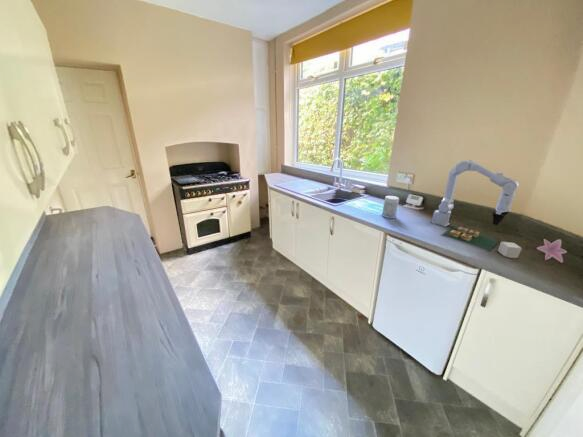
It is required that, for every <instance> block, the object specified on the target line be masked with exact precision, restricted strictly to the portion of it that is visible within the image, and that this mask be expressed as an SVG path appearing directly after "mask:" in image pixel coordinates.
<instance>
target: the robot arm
mask: <svg viewBox="0 0 583 437" xmlns="http://www.w3.org/2000/svg"><path fill="white" fill-rule="evenodd" d="M468 171H469V172H477V173H479V174H481V175H483V176H485V177H487V178H489V181H490V182H491V183H492V184H495V185H497V186H498V187H500V188H502V191H501V193H500V195H499V197H498V200H497V203H496V205H495V206H496V207H495V208H494V209H495V211H493V212H492V213H491V214H492V225H494V226H498V225H499V224H500V223H502V221H503V220H504V219H505V217H506V216H507V215H508V214H509V213H511V212H512V209H510V207H511V205H512V203H513V200H514V197H515V194H516V191H517V189H518V188H519V186H520V184H519V182H518V181H517V180H516V179H513V178H511V177H507V176H506V175H504V173H503V172H493V171H492V170H490V169H488V168H487V167H484V166H483V165H481V164H479V163H478V162H475V161H473V160H471V159H467V160H461V161H459V162H457V163H456V164H455V166H453V167H452V168H451V169H450V171H449V173H448V176H447V182H446V186H445V191H444V195H443V198H442V199H441V202H440V203H439V205H438V209H435V210H434V211H433V214H432V218H431V223H432V224H435V225H438V226H442V227H445V228H446V227H447V226H450V224H451V223H449V221H450V217H451V214H452V210H453V209H454V208H455V204H454V195H455V192H456V187H457V182H458V178H459V175H462V173H464V172H468Z"/></svg>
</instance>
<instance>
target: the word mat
mask: <svg viewBox="0 0 583 437" xmlns="http://www.w3.org/2000/svg"><path fill="white" fill-rule="evenodd" d="M452 230H455V231H457V230H458V228H457V227H452V228H450V229H449V230H448V231H446V232H444V233H443V234H442V236H444V237H447V238H450V239H453V240H456V241H458V242H462V243H465V244H467V245H471V246H474V247H477V248H480V249H483V250H486V251H491V250H492V249H493V248H494V247H495V246H496V245H497V243H499V240H498V239H495V238H491V237H487V236H486V235H485V236H484V235H481V234H479V236H477V237H473V236H472V239H471V240H470V241H466V240H463V239H460V238H461V235H462V234H463V233H461V234H460V236H459V237H454V236H451V235H449V234H450V232H451V231H452ZM468 233H469V231H468V232H467V233H466V234H468Z"/></svg>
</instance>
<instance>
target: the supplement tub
mask: <svg viewBox="0 0 583 437" xmlns="http://www.w3.org/2000/svg"><path fill="white" fill-rule="evenodd" d="M399 202H400V198H399V197H398V196H395V195H386V196H385V197H384V201H383V207H382V213H381V214H382V216H383V217H384V218H385V219H395V218H396V216H397V211H398V207H399Z"/></svg>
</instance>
